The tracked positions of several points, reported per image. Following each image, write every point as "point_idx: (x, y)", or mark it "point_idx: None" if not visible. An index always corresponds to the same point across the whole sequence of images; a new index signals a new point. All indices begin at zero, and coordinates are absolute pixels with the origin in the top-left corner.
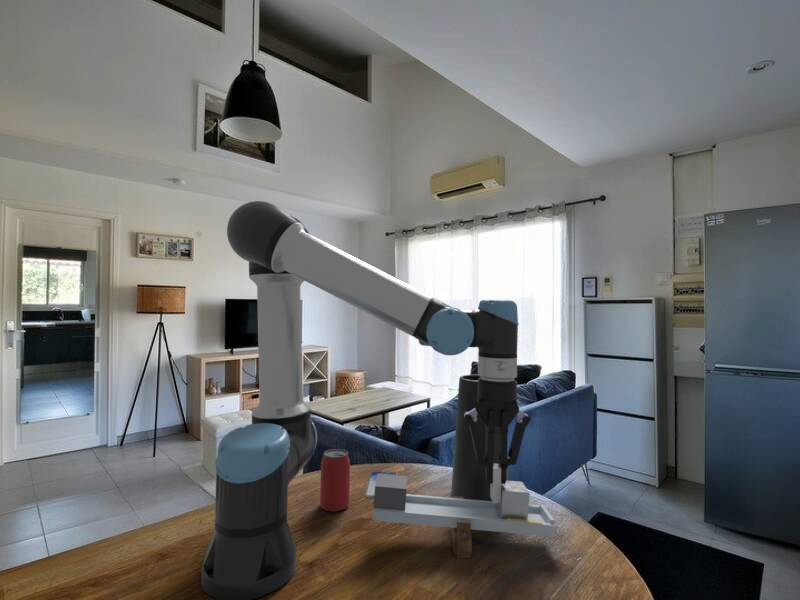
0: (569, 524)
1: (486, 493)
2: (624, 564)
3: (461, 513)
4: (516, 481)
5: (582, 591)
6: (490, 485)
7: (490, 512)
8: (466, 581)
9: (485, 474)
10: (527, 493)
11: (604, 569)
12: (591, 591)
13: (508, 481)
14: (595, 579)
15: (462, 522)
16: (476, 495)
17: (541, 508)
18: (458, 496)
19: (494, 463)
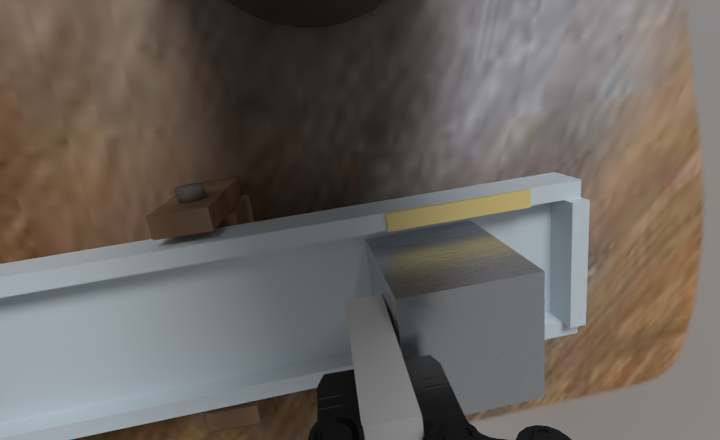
0: (644, 67)
1: (333, 3)
2: (697, 276)
3: (217, 323)
4: (510, 280)
5: (540, 401)
6: (349, 330)
7: (342, 270)
8: (269, 432)
9: (318, 407)
10: (532, 396)
11: (632, 309)
12: (561, 396)
13: (461, 300)
14: (590, 353)
15: (228, 428)
16: (279, 8)
17: (567, 225)
18: (182, 212)
19: (392, 422)
